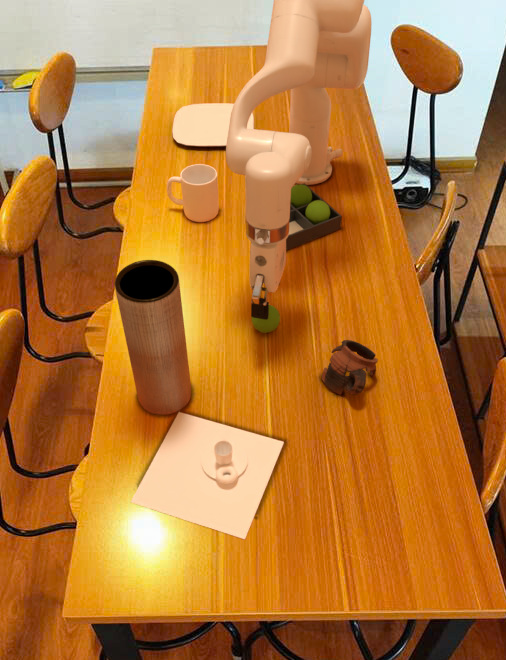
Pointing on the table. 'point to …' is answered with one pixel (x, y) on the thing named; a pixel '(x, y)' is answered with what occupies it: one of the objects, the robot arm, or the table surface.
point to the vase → (155, 334)
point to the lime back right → (317, 212)
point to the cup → (197, 192)
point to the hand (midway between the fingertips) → (265, 300)
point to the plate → (204, 124)
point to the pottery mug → (349, 368)
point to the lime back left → (300, 195)
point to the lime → (267, 321)
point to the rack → (309, 224)
